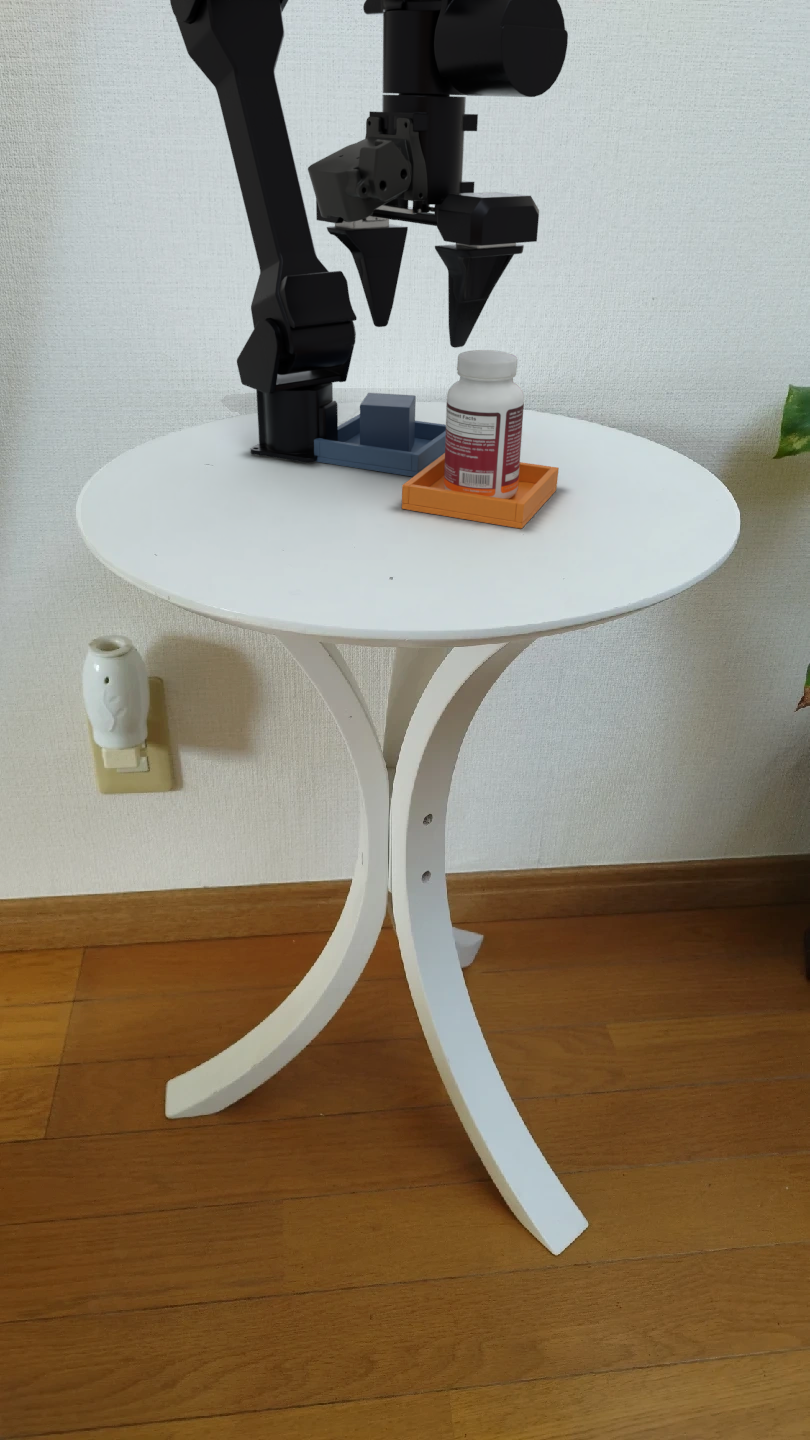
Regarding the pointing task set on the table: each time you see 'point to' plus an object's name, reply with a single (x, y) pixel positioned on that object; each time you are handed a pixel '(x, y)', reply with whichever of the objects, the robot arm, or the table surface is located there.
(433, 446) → the slate tray
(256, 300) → the robot arm
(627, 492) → the table surface
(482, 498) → the amber tray
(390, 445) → the slate block
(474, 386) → the pill bottle
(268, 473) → the table surface
